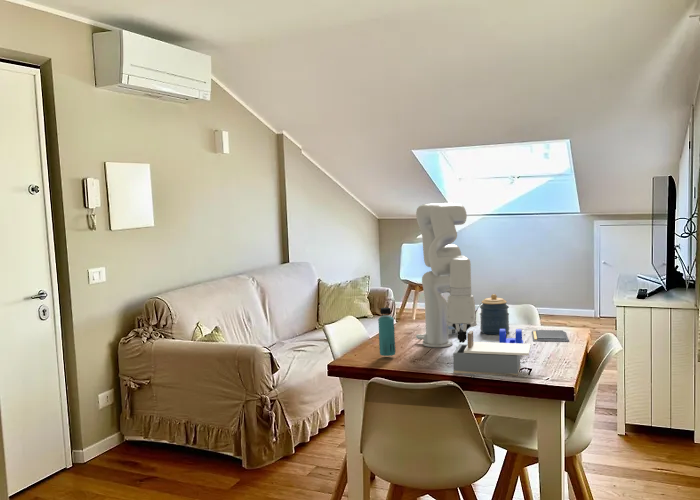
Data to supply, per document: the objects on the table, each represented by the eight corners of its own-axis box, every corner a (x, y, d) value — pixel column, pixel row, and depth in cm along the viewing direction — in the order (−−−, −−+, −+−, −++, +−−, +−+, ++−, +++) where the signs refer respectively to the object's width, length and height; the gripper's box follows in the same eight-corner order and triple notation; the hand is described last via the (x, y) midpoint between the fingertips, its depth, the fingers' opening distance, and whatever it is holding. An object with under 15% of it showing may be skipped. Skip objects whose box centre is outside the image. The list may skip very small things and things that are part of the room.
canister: (476, 333, 275) (475, 295, 273) (485, 328, 286) (484, 291, 284) (504, 336, 268) (503, 296, 267) (513, 330, 279) (512, 292, 278)
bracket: (521, 353, 237) (520, 331, 236) (499, 353, 240) (499, 330, 239) (523, 343, 254) (523, 322, 253) (503, 342, 257) (503, 321, 256)
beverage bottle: (391, 360, 235) (389, 309, 233) (376, 358, 238) (374, 308, 237) (398, 356, 240) (396, 306, 239) (384, 354, 244) (382, 306, 242)
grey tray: (453, 372, 214) (453, 353, 214) (460, 362, 228) (459, 344, 227) (517, 376, 207) (517, 356, 206) (520, 365, 220) (520, 346, 220)
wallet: (569, 339, 251) (531, 338, 256) (569, 343, 251) (531, 342, 256) (566, 329, 270) (531, 328, 275) (566, 333, 271) (531, 332, 275)
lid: (463, 352, 213) (463, 336, 212) (469, 343, 226) (469, 328, 225) (528, 355, 205) (528, 338, 205) (530, 346, 218) (530, 330, 218)
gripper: (438, 293, 217) (439, 343, 219) (480, 293, 212) (481, 345, 213) (442, 290, 224) (443, 338, 226) (483, 290, 219) (484, 340, 220)
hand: (462, 341), depth 219 cm, fingers closed
